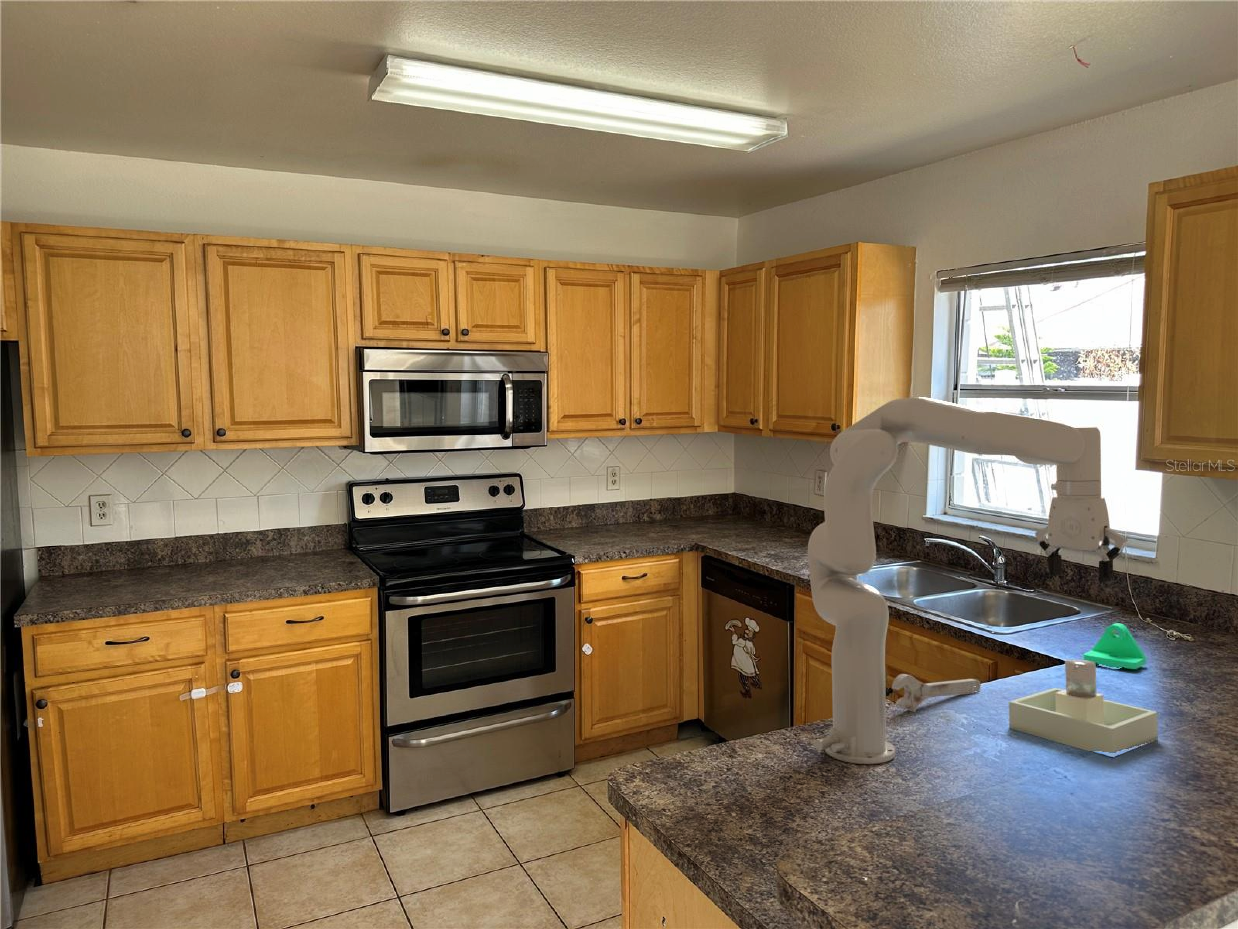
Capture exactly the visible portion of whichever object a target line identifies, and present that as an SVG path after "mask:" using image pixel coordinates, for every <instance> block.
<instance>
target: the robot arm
mask: <svg viewBox="0 0 1238 929" xmlns="http://www.w3.org/2000/svg"><path fill="white" fill-rule="evenodd" d="M1101 439H1102V438H1101V432H1100V429H1099V427H1096V426H1093V425H1070V424H1067V423H1064V422H1058V421H1054V420H1049V419H1044V418H1039V417H1032V416H1026V415H1019V414H1013V413H1006V412H1001V411H996V410H989V409H982V408H976V407H972V406H969V405H968V406H967V405H962V404H957V403H953V402H948V401H943V400H939V399H934V398H929V397H923V396H921V397H920V396H911V397H906V398H905V397H904V398H897V399H892V400H890V401H888V402H886V403H885V404H883V405H881V406H879V407H878V408H876V409H875V410H873V411H872V412H870V413H869V414H867V415H865V416H864V417H862V418H861V419H859V420H858V421H856V422H855V423H853V424H851V425H850V426H848V427H847V428H846V429H843V430H842V431H841V432H839V433H838V434H837V436H836V437H835V438H834V439H833V441H832V442H831V445H830V448H829V455H830V460H831V462H832V464H833V466H832V468H831V470H830V472H829V474H828V476H827V479H826V481H825V482H826V483H825V486H824V492H823V505H824V507H823V508H824V522H822V523H820V524H819V525H818V526H816V527H815V528H814V529H813V531H812V532H811V534H810V536H809V539H808V544H807V559H808V572H809V581H810V589H811V596H812V603H813V606H814V608H815V611H816V613H817V614H818V616H819V617H820V618H821V619H823V620H824V621H826V622H827V623H829V624H830V625H832V626H835V632H834V635H833V636H834V637H833V641H832V647H831V682H832V684H831V687H832V688H831V690H832V693H831V694H832V696H831V697H832V698H831V699H832V728H830V729H829V730H828V733H829V734H828V735H827V736H826V737H823V738H820V739H816V740H815V742H814V746H815V749H816V750H817V751H819V752H821V751H824V750H825V753H826V754H827V755H828V756H830V757H832V758H833V759H836V760H839V761H842V762H846V763H851V764H860V765H873V764H874V765H876V764H882V763H886V762H889V761H891V760H893V759H894V758H895V756H896V748H895V746H894V745H893V744H892V743H891V742H889V741H887V708H886V707H887V703H886V700H887V699H886V698H887V696H886V695H887V694H886V692H887V691H886V641H887V640H886V638H887V632H888V628H889V627H888V625H889V619H890V616H889V615H890V614H889V612H890V610H889V606H888V603H887V601H886V599H885V597H884V596H883V594H882V593H881V592H880V591H879V590H878V589H877V588H875V587H873V586H872V585H870V584H867V583H865V582H862V581H859V580H858V577H859V576H863V575H865V574H867V573H869V572H870V571H871V570H872V568H873V567H874V565H875V563H876V560H877V558H876V557H877V546H876V538H875V529H874V519H873V518H874V517H873V504H872V502H873V492H874V490H875V487H876V485H877V483H878V482H879V481H880V479H881V478H882V476H883V475H884V474H885V473H886V472H887V471H889V470H890V469H891V468H892V466H893V465H894V464H895V462H896V460H897V458H898V453H899V446H898V445H899V444H902V443H918V444H924V445H928V446H931V447H932V446H933V447H939V448H944V449H948V450H952V451H957V452H962V453H967V454H976V455H983V456H984V455H986V456H1009V457H1010V456H1011V457H1015V458H1016V459H1017V460H1018V461H1020V462H1022V463H1025V464H1028V465H1033V466H1034V465H1035V466H1037V465H1039V466H1056V481H1055V482H1053V483H1051V485H1050V488H1051V490H1052V491H1055V492H1056V493H1055V494H1056V496H1052V498H1051V503H1050V505H1049V506H1050V507H1049V513H1048V521H1047V522H1048V524H1047V526H1046V527H1043V528H1042V529H1041V528H1040V529H1038V530H1037V531H1035V534H1034V535H1035V538H1036V540H1037V541H1038V543H1039V547H1040V548H1041V549H1042V550H1043V551H1044V554H1045V555H1046V556H1047V565H1048V566H1047V568H1048V569H1047V571H1049V572H1048V573H1049V576H1050V577H1057V576H1061V575H1062V573H1063V571H1062V570H1063V568H1062V562H1063V561H1062V555H1061V554H1059V553H1060V552H1061V551H1062V549H1068V550H1081V551H1095V552H1096V554H1097V555H1098V556H1099V557H1100V559H1101V560H1098V561H1099V562H1098V582H1099V583H1106V582H1111V581H1112V578H1113V576H1114V561H1115V560H1117V557H1118V556H1120V555H1121V554H1122V553H1123V550H1124V549H1125V547H1126V545H1127V543H1128V541H1129V540H1128V538H1127V537H1126V536H1124V535H1122V534H1120V533H1118V532H1117V531H1115V530H1113V529H1111V526H1110V517H1109V511H1108V507H1107V502H1106V499H1105V497H1104V496H1102V457H1101V456H1102V454H1101V452H1102V448H1101V445H1102V444H1101V442H1102V441H1101ZM1111 540H1112V541H1114V546H1113V547H1112V548H1110V544H1111Z"/></svg>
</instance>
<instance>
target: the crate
mask: <svg viewBox="0 0 1238 929" xmlns="http://www.w3.org/2000/svg"><path fill="white" fill-rule="evenodd" d="M1063 690H1064V689H1062V688H1058V687H1054V688H1049V689H1047V690H1043V691H1040V692H1036V693H1033V694H1029V695H1027V696H1023V697H1019V698H1016V699H1013V700H1010V701H1008V717H1009V718H1008V723H1009V727H1008V728H1009V729H1012V730H1015V731H1018V732H1021V733H1025V734H1029V735H1032V736H1036V737H1039V738H1042V739H1046V740H1050V741H1052V742H1056V743H1059V744H1063V745H1065V746H1069V747H1073V748H1076V749H1080V750H1083V751H1086V752H1090V751H1102V752H1109V753H1116V752H1117V751H1121V750H1123V749H1129V748H1132V747H1134V746H1139V745H1141V744H1145V743H1149V742H1151V743H1153V742H1152V741H1154V742H1156V741H1158V740H1159V737H1158V736H1159V735H1158V734H1159V733H1158V732H1159V730H1158V726H1159V723H1158V712H1157V711H1154V710H1151V709H1145V708H1142V707H1137V706H1134V705H1130V704H1126V703H1122V702H1117V701H1112V700H1108V699H1104V698H1103V719H1104V725H1103V724H1099V723H1095V722H1092V721H1088V720H1084V719H1080V718H1076V717H1072V716H1069V715H1065V714H1061V713H1057V712H1056V702H1055V693H1056V692H1060V691H1063ZM1155 740H1156V741H1155ZM1149 744H1150V743H1149Z"/></svg>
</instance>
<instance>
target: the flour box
mask: <svg viewBox="0 0 1238 929" xmlns="http://www.w3.org/2000/svg"><path fill="white" fill-rule="evenodd" d="M1062 690H1063V691H1060V692H1056V693H1055V702H1056V712H1057V713H1061V714H1065V715H1069V716H1072V717H1076V718H1080V719H1084V720H1088V721H1092V722H1095V723H1099V724H1103V725H1104V719H1103V699H1104V694H1101V693H1098V692H1097V695H1096V696H1094V697H1078V696H1073V695H1069V694H1067V693H1066V689H1062Z"/></svg>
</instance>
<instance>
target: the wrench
mask: <svg viewBox="0 0 1238 929" xmlns="http://www.w3.org/2000/svg"><path fill="white" fill-rule="evenodd" d="M974 686H976V687H974ZM902 688H903V691H904V692H903V693H904V694H903V697H900V698H898V699H897V701H895V705H896V706H897V707H898V708H900V709H903V710H908V711H911V712H913V713H915V712H916V710H917V708H918V706H919V705H921V703H922V702H924V701H925V700H927V699H928V698H935V697H936V698H937V697H948V696H959V695H960V696H961V695H968V694H969V695H970V694H971V693H972V694H975V693H974V692H975V691H979V692H980V691H981V682H980V681H979V679H974V678H967V679H964V678H963V679H956V680H954V679H953V680H946V681H939V682H938V681H937V682H928V683H923V681H922V682H921V681H920V680H918V679H916V678H915V677H914V676H913V675H910V674H907V673H900V674H898V675H897V676H896V677H895V678H894V679H893V681H892V684H891V689H893V690H896V691H899V690H901V689H902Z"/></svg>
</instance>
